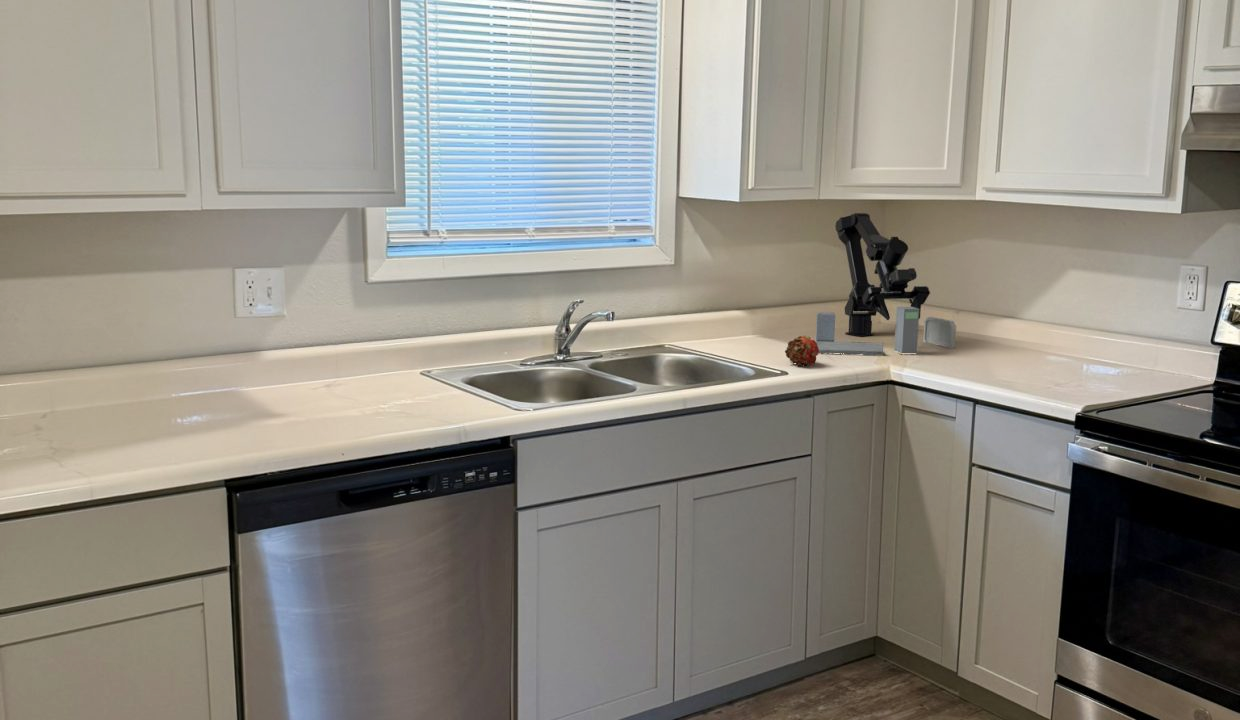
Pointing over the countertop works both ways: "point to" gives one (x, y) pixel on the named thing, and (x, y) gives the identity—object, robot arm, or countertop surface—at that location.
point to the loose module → (906, 329)
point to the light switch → (939, 332)
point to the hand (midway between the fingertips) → (903, 318)
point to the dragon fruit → (802, 350)
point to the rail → (827, 344)
